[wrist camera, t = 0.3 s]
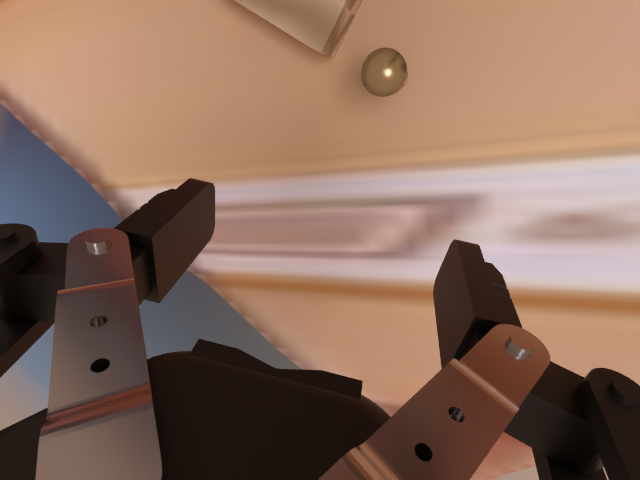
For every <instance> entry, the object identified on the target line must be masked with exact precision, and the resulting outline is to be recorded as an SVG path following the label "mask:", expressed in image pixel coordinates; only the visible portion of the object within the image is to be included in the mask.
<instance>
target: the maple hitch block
mask: <svg viewBox="0 0 640 480" xmlns="http://www.w3.org/2000/svg"><path fill="white" fill-rule="evenodd" d="M234 1H236V2H237V3H239V4H241V5H242V6H244V7H245V8H247V9H249V10H250V11H252V12H254V13H255V14H257V15H258V16H260V17H262V18H263V19H265V20H267V21H268V22H270V23H271V24H273V25H275V26H276V27H278V28H280V29H281V30H283V31H284V32H286V33H288V34H289V35H291V36H293V37H294V38H296V39H297V40H299V41H301V42H302V43H304V44H306V45H307V46H309V47H310V48H312V49H314V50H315V51H317V52H319V53H320V54H323V55H326V56H329V57H332V58H334V56H335V54H336V52H337V50H338V48H339V46H340V44H341V42H342V40H343V38H344V36H345V34H346V32H347V30H348V28H349V26H350V24H351V22H352V20H353V18H354V16H355V14H356V12H357V10H358V8H359V6H360V3H361V1H362V0H234Z"/></svg>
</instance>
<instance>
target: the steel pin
mask: <svg viewBox="0 0 640 480" xmlns="http://www.w3.org/2000/svg"><path fill="white" fill-rule="evenodd" d="M361 75H362V81H363V84H364V86H365V88H366V89H367V90H368V91H369V92H370V93H372V94H373V95H376V96H381V97H384V96H389V95H392V94H394V93H396V92H397V91H398V90H399V89H401V88H402V87H403V86H404V85H405V83H406V81H407V78H408V72H407V66H406V62H405V60H404V58H403V57H402V55H401V54H400V53H399V52H397V51H396V50H394V49H391V48H380V49H377V50H375V51H373V52H372V53H371V54H370V55H369V56H368V57H367V58H366V60H365V61H364V64H363V67H362V73H361Z"/></svg>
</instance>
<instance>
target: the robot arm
mask: <svg viewBox="0 0 640 480" xmlns="http://www.w3.org/2000/svg"><path fill="white" fill-rule="evenodd" d="M214 228H215V187H214V184H213V183H210V182H205V181H201V180H197V179H192V178H190V179H188V180H187V181H185V182H184V183H183V184H182V185H181V186H179V187H178V188H177V189H176V190H175V189H170V190H167V191H164V192H162V193H159V194H157V195H156V196H154V197H153V198H152V199H151V200H149V201H148V203H146V204H144V205H143V206H142V207H140V210H139V209H138V210H137V211H135V212H134V213H133V214H131V215H130V216H129V217H128V218H126V219H125V220H124V221H122V222H121V223H120V224H119V225H117V226H116V227H115V228H114V229H113V228H95V229H90V230H86V231H83V232H81V233H79V234H77V235H75V236H74V237H73V238H71V240H70V241H69V242H68V243H45V242H39V241H38V238H37V235H36V231H35V230H34V229H33V228H32V227H30V226H28V225H24V224H1V225H0V377H1V376H2V375H3V374H4V373H5V372H6V371H7V370H8V369H9V368H10V367H11V366H12V365H13V364H14V363H15V362H16V361H17V360H18V359H19V358H20V357H21V356H22V355H23V354H24V353H25V352H26V351H27V350H28V349H29V348H30V347H31V346H32V345H33V344H34V343H35V342H36V341H37V340H38V339H39V338H40V337H41V336H42V334H44V333H45V332H46V331H47V330H48V329H49V328H50V327H51V326H52V325H53V324H54V336H53V349H52V362H51V375H50V388H49V401H48V408H46V409H44V410H42V411H40V412H38V413H36V414H34V415H32V416H29V417H27V418H25V419H23V420H21V421H19V422H17V423H15V424H13V425H11V426H9V427H7V428H5V429H3V430H1V431H0V480H470V478H471V477H472V475H473V474H474V473H475V471H476V470H477V468H478V467H479V465H480V464H481V463H482V461H483V460H484V458H485V457H486V455H487V454H488V453H489V451H490V450H491V448H492V447H493V446H494V444H495V443H496V441H497V440H498V438H499V437H500V436H501V434H502V433H503V432H505V433H507V434H509V435H510V436H512V437H514V438H516V439H517V440H519V441H521V442H523V443H525V444H526V445H528V446H530V447H532V451H533V455H534V459H535V463H536V467H537V472H538V475H539V480H607V478H606V476H605V473H604V471H603V467H604V468H605V470H606V473H607V475H608V478H609V480H640V386H639V385H638V384H637V383H635V382H634V381H633V380H631V379H630V378H628V377H626V376H624V375H623V374H621V373H618V372H616V371H613V370H610V369H606V368H595V369H593V370H591V371H590V372H589V373H588V374H587V376H586V377H585V378H584V377H582V376H580V375H578V374H576V373H573V372H571V371H569V370H567V369H565V368H563V367H561V366H559V365H557V364H555V363H553V362H551V361H550V355H549V352H548V350H547V348H546V347H545V346H544V344H543V343H542V342H541V341H540V340H539V339H538V338H537V337H535V336H534V335H533V334H531V333H530V332H528V331H526V330H524V329H522V326H521V323H520V321H519V318H518V315H517V313H516V310H515V307H514V305H513V302H512V299H510V294H509V291H508V289H506V287H507V286H506V284H505V281H504V278H503V276H502V274H501V273H500V272H499V271H498V270H497V269H496V268H495V266H494V265H493V264H492V263H487V262H485V261H484V258H483V255H482V252H481V249H480V246H479V245H477V244H473V243H469V242H464V241H460V240H456V239H455V240H453V241H452V243H451V245H450V247H449V249H448V251H447V254H446V256H445V258H444V261H443V263H442V265H441V268H440V270H439V272H438V275H437V277H436V280H435V284H434V290H433V297H434V305H435V314H436V323H437V332H438V340H439V349H440V358H441V366H442V369H441V370H440V371H439V372H438V373H437V374H436V375H435V376H434V377H433V378H432V379H431V380H430V381H429V382H428V383H427V384H426V385H425V386H423V387H422V388H421V389H420V390H419V391H418V392H417V393H416V394H415V395H414V396H413V397H412V398H411V399H410V400H409V401H408V402H407V403H405V404H404V405H403V406H402V407H401V408H400V409H399V410H398V411H397V412H396V413H395V414H394V415H393V416H392V417H390V416H389V415H388V414H387V413H386V412H385V411H384V410H383V409H382V408H381V407H379V406H378V405H377V404H376V403H374V402H373V401H371V400H370V399H368V398H366V397H365V396H363V395H361V391H362V381H361V380H357V379H353V378H349V377H345V376H341V375H337V374H334V373H330V372H326V371H322V370H294V369H292V370H291V369H277V368H274V367H271V366H270V365H268V364H266V363H264V362H262V361H260V360H258V359H256V358H255V357H253V356H251V355H249V354H247V353H245V352H243V351H241V350H239V349H237V348H232V347H229V346H225V345H221V344H217V343H214V342H210V341H205V340H202V339H199V340H198V341H197V343H196V345H195V346H194V348H193V349H192V351H179V352H172V353H166V354H162V355H158V356H155V357H152V358H150V359H147V355H146V349H145V342H144V335H143V329H142V322H141V316H140V309H139V305H140V304H141V303H142V301H143V300H144V299H145V300H150V301H153V302H158V303H160V302H161V300H162V299H163V298H164V296H165V295H166V294H167V293H168V292H169V290H170V289H171V288H172V287H173V286H174V284H175V283H176V282H177V280H178V279H179V278H180V277H181V276H182V274H183V273H184V272H185V271H186V269H187V268H188V267H189V266H190V264H191V263H192V262H193V261H194V260H195V258H196V257H197V256H198V255H199V253H200V252H201V251H202V250H203V248H204V247H205V246H206V245H207V243H208V242H209V241H210V239H211V237H212V235H213V232H214Z"/></svg>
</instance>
